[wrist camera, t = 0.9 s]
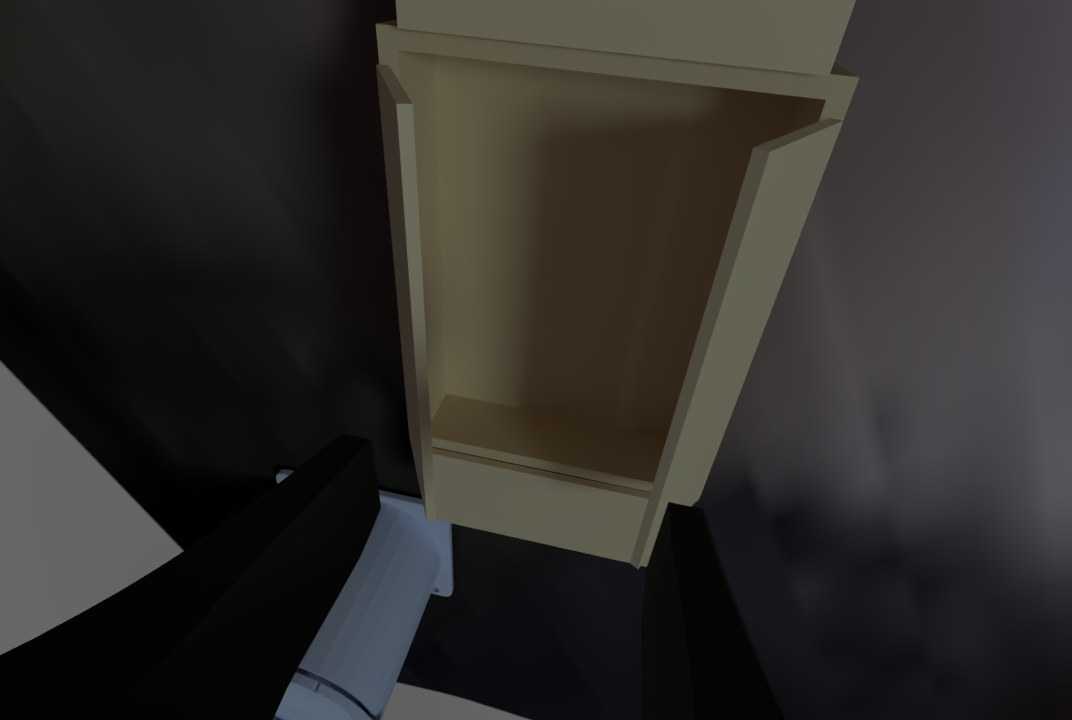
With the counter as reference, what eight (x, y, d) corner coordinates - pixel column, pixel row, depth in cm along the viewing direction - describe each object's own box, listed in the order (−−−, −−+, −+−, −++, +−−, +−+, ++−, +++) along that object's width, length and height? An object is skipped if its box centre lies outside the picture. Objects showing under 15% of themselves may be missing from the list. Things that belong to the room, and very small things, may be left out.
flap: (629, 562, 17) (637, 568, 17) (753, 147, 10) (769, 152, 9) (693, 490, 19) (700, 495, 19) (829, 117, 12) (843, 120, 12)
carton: (441, 458, 26) (414, 514, 24) (413, -183, 13) (346, -220, 10) (674, 507, 25) (673, 572, 22) (901, -152, 12) (966, -186, 9)
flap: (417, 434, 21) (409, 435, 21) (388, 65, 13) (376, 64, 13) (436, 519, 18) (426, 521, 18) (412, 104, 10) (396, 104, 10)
